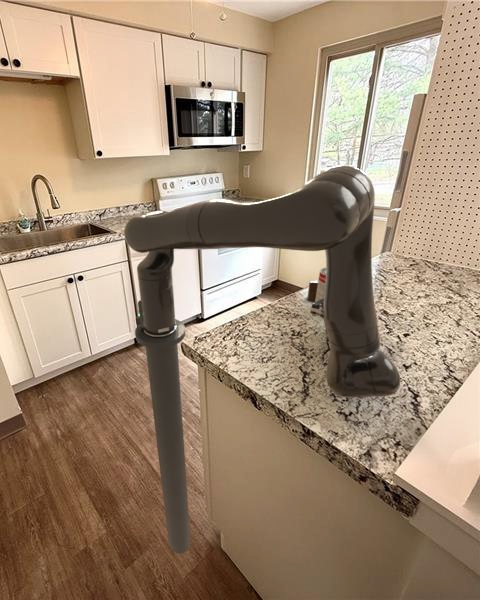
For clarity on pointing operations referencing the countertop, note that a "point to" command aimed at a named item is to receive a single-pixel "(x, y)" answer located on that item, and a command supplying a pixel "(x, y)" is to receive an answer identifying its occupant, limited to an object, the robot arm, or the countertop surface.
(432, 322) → the countertop surface
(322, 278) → the canned food
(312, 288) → the brown rectangular block
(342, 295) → the robot arm
